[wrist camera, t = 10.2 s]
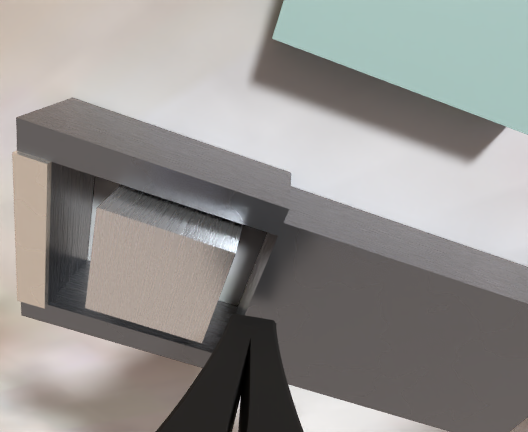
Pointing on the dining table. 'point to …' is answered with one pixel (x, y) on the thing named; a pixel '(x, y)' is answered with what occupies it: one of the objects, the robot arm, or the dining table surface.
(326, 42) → the mint green square slab
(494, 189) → the dining table surface
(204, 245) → the block
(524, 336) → the grey sliding box
